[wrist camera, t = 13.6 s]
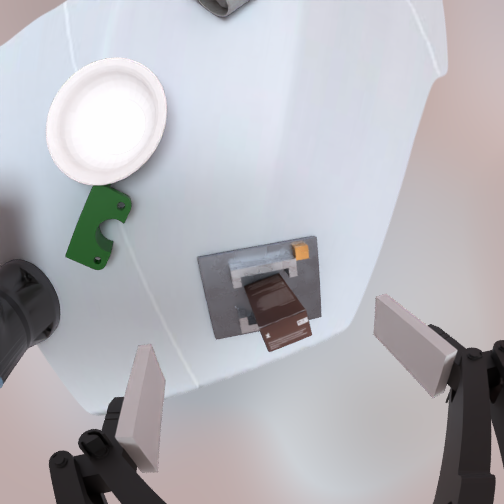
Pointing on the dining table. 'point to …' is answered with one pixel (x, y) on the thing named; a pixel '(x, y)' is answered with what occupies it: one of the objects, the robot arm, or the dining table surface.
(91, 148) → the bowl
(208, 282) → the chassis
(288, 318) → the box
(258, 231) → the dining table surface
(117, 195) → the clamp
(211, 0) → the ceramic mug
